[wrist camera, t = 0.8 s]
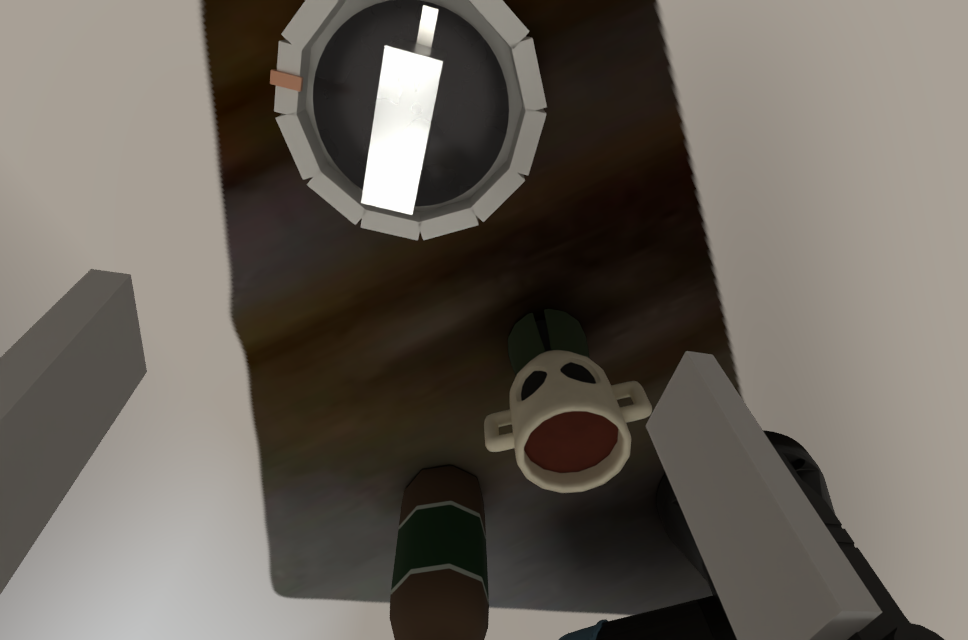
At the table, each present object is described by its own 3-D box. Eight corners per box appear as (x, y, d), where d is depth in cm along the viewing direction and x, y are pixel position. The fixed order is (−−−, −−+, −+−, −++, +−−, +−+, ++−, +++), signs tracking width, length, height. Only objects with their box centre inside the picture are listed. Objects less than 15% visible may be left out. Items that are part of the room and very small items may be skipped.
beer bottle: (434, 531, 55) (417, 849, 34) (386, 485, 52) (335, 807, 31) (500, 499, 53) (524, 816, 32) (455, 449, 50) (449, 767, 29)
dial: (481, 216, 36) (486, 270, 28) (309, 175, 34) (267, 221, 26) (530, 31, 30) (552, 38, 23) (330, -27, 29) (285, -41, 21)
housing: (499, 234, 40) (504, 264, 35) (287, 184, 37) (261, 209, 33) (566, 1, 33) (584, -1, 28) (309, -78, 30) (281, -95, 26)
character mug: (604, 284, 42) (657, 384, 31) (618, 358, 45) (669, 474, 34) (468, 319, 43) (470, 428, 32) (491, 389, 46) (500, 510, 35)
